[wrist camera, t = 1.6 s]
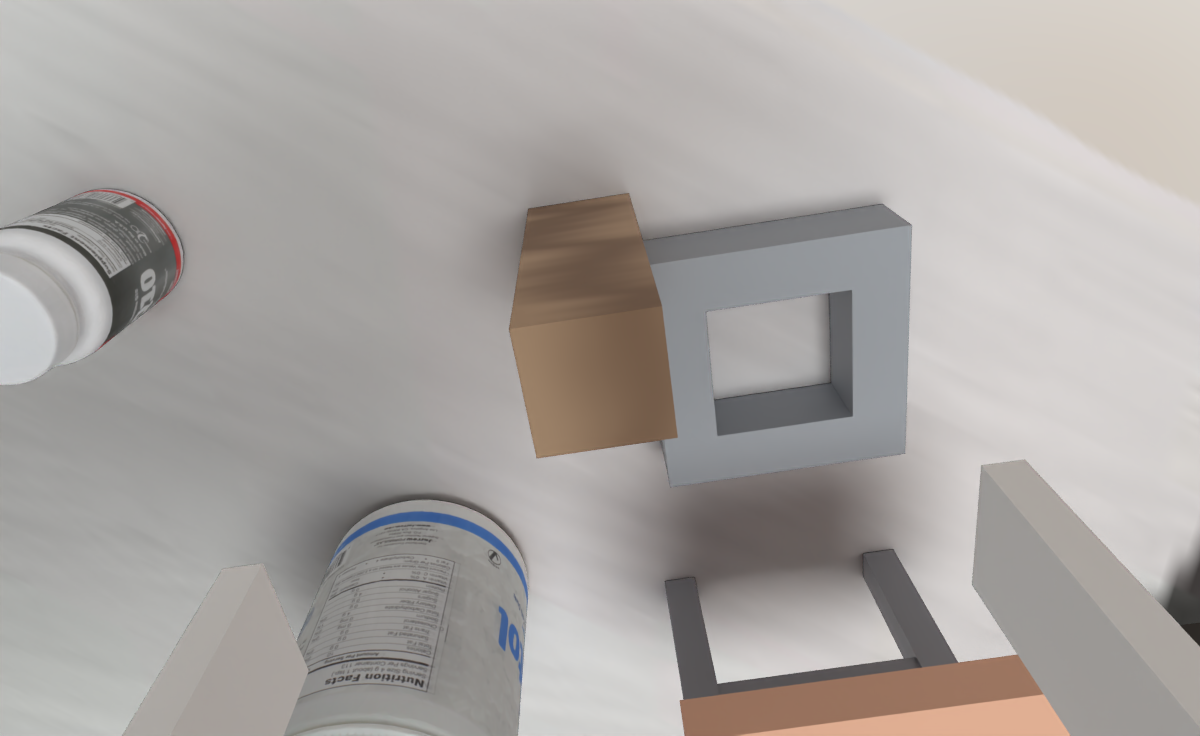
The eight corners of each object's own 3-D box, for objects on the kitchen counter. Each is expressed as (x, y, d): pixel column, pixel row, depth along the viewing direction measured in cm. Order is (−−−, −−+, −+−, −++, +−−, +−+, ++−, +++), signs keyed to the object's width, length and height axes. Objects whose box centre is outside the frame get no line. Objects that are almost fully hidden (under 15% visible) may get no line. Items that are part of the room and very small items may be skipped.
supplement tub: (545, 628, 41) (535, 936, 28) (366, 655, 41) (273, 972, 28) (505, 473, 37) (471, 751, 24) (306, 505, 37) (162, 796, 24)
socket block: (662, 449, 36) (670, 487, 34) (635, 242, 32) (641, 266, 29) (880, 418, 36) (905, 453, 33) (882, 204, 32) (912, 224, 29)
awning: (663, 608, 41) (711, 919, 27) (642, 462, 37) (686, 741, 23) (897, 575, 40) (1063, 874, 27) (901, 424, 36) (1098, 687, 23)
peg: (546, 302, 33) (536, 458, 22) (528, 208, 31) (509, 329, 20) (641, 287, 33) (677, 437, 22) (628, 193, 31) (662, 305, 20)
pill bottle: (144, 324, 33) (19, 426, 25) (37, 245, 31) (-130, 329, 24) (211, 246, 31) (100, 330, 24) (103, 160, 30) (-52, 221, 22)
